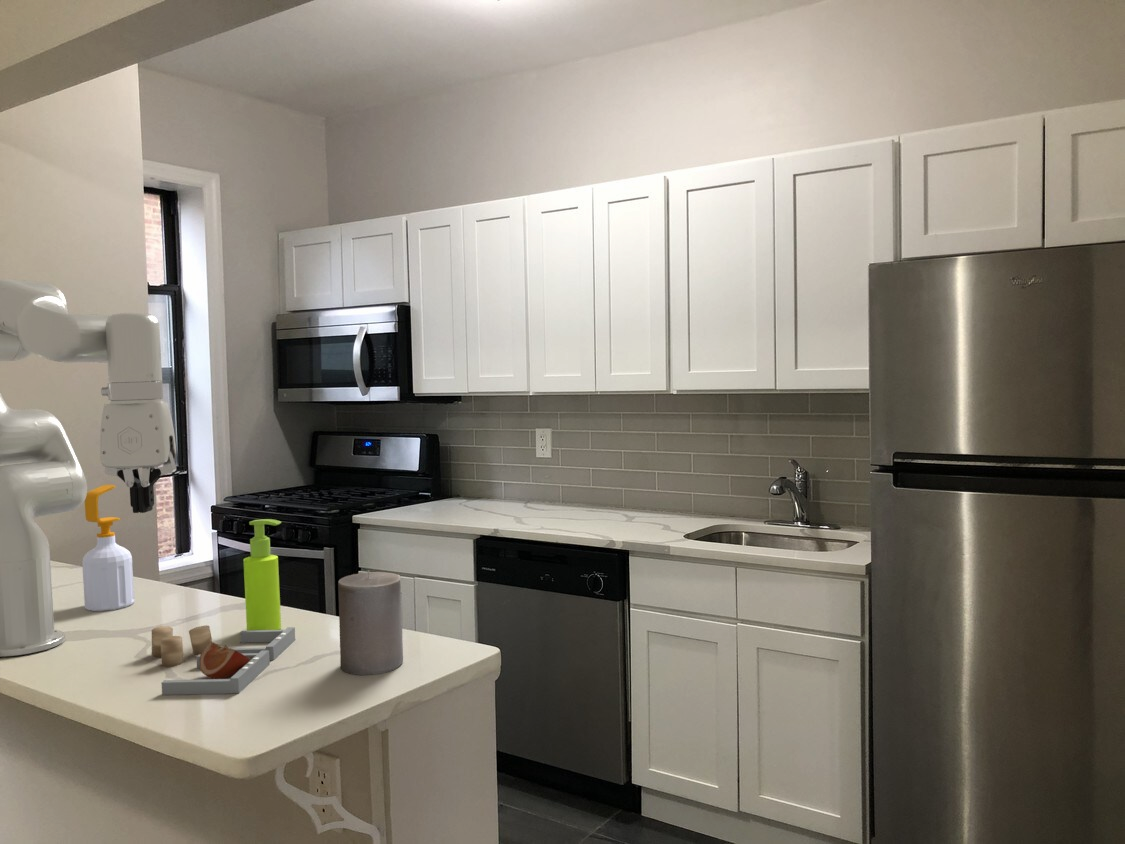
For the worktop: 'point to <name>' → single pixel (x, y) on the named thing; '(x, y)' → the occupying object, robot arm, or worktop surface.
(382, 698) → the worktop surface
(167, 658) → the cork
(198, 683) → the corral
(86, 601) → the soap bottle
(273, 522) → the soap dispenser
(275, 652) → the corral
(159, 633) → the cork
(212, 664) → the fruit slice
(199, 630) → the cork
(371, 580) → the pillar candle
